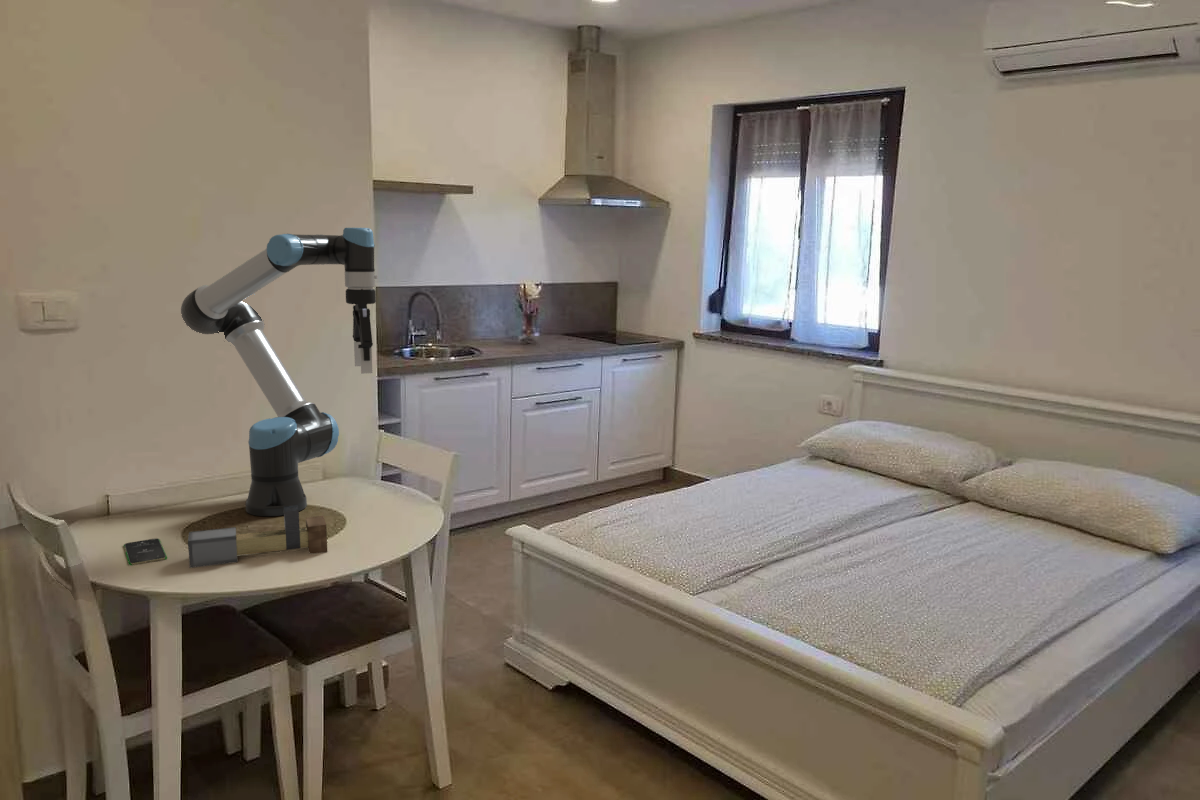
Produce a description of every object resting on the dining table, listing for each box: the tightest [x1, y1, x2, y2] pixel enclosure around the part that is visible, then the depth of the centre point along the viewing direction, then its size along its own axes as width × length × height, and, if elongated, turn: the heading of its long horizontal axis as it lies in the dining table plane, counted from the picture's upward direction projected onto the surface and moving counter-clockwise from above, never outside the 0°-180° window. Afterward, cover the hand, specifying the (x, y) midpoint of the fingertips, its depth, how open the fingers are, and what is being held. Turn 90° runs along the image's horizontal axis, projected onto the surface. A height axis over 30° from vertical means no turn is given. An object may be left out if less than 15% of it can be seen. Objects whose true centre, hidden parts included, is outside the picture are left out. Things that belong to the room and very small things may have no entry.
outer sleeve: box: [187, 527, 238, 569], centre depth 190 cm, size 10×6×6 cm
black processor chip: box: [123, 537, 168, 566], centre depth 194 cm, size 8×1×15 cm
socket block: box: [305, 515, 328, 555], centre depth 198 cm, size 4×7×6 cm, turn 23°
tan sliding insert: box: [236, 505, 309, 556], centre depth 194 cm, size 18×4×9 cm, turn 113°
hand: (363, 369), depth 226 cm, fingers open, 13 cm apart
